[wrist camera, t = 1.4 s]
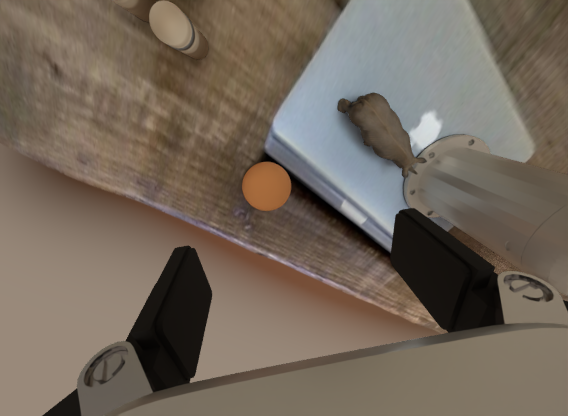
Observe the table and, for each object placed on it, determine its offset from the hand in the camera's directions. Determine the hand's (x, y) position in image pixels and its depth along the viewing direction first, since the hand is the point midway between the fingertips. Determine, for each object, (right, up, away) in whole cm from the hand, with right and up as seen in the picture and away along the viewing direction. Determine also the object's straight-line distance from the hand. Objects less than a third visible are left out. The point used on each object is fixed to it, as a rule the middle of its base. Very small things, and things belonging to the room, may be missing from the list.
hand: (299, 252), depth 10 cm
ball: (-3, +5, +17) cm, 18 cm away
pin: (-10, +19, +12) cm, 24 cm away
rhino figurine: (+11, +12, +19) cm, 25 cm away
